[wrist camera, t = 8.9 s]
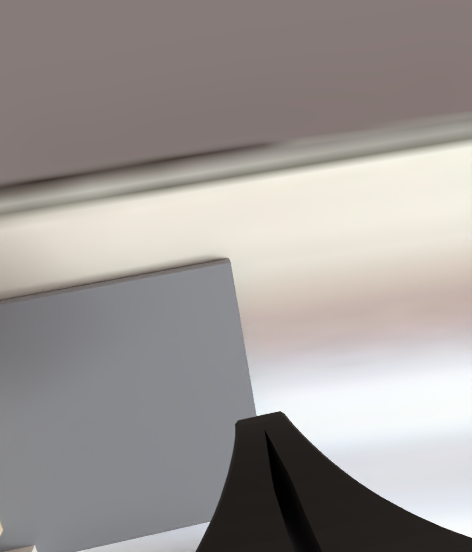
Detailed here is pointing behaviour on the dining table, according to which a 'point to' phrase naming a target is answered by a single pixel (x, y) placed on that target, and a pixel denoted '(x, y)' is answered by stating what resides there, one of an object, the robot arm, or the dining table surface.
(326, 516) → the robot arm
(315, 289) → the dining table surface
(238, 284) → the dining table surface
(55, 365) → the board
